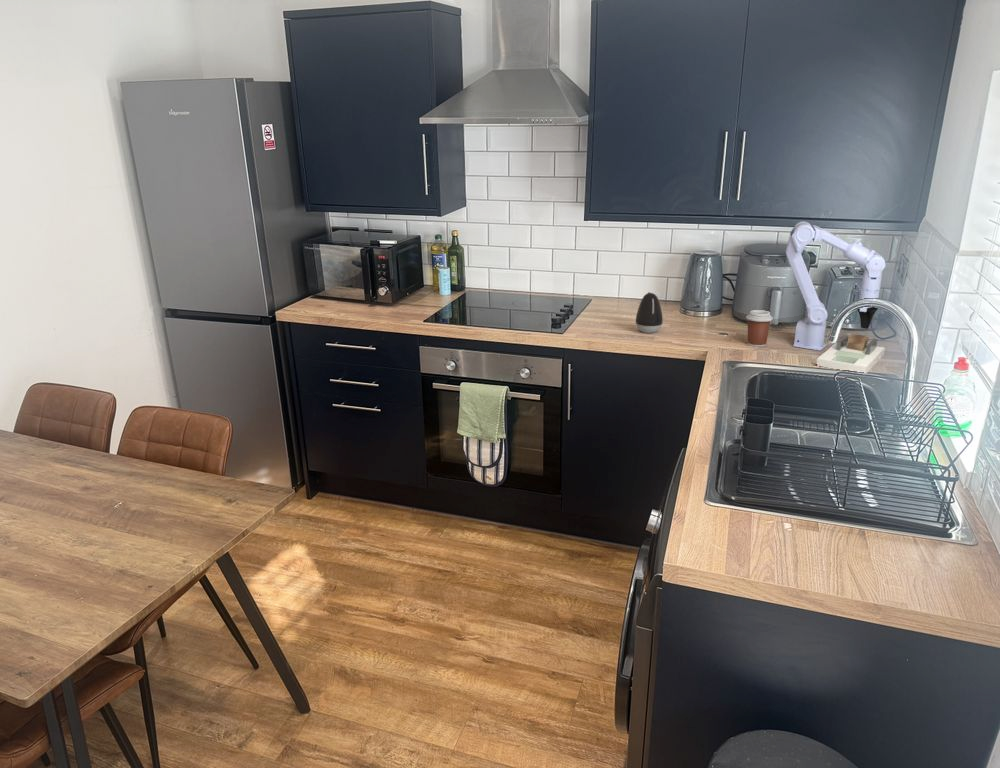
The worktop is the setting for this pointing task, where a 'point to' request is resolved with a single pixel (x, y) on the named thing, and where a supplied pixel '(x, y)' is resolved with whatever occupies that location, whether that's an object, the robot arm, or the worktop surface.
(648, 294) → the black and white egg-shape
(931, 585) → the worktop surface
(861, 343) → the walnut block
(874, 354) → the channel board
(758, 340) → the coffee cup
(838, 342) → the channel walls
